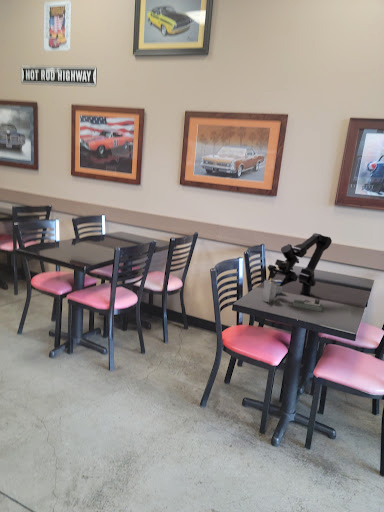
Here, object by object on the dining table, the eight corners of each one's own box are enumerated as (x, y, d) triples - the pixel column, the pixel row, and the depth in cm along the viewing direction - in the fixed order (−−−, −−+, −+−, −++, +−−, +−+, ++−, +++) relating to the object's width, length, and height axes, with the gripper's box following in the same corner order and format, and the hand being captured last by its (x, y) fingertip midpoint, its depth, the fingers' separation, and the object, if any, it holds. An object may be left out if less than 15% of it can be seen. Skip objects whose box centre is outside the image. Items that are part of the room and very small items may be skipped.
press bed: (277, 296, 224) (278, 291, 223) (321, 304, 216) (322, 299, 215) (274, 305, 208) (274, 299, 207) (320, 314, 200) (321, 308, 199)
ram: (304, 305, 208) (305, 296, 207) (319, 307, 206) (320, 299, 205) (303, 307, 205) (304, 298, 204) (318, 310, 202) (320, 301, 201)
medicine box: (269, 295, 225) (271, 281, 223) (266, 292, 229) (268, 279, 227) (281, 295, 227) (283, 281, 226) (277, 292, 232) (279, 279, 230)
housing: (267, 299, 217) (270, 276, 214) (274, 301, 213) (277, 279, 211) (262, 300, 214) (265, 277, 211) (268, 303, 210) (271, 280, 208)
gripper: (271, 251, 220) (256, 270, 216) (297, 258, 206) (281, 279, 202) (278, 263, 227) (263, 282, 222) (304, 271, 212) (288, 291, 208)
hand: (274, 283), depth 214 cm, fingers open, 9 cm apart
